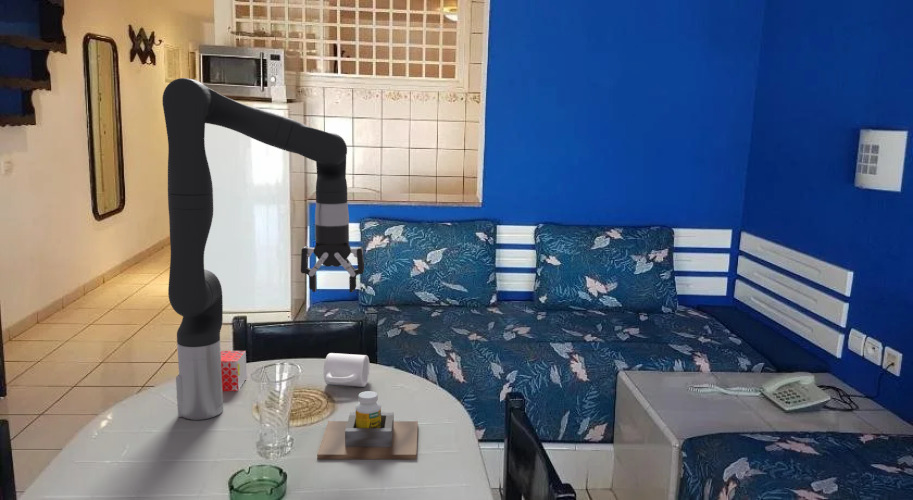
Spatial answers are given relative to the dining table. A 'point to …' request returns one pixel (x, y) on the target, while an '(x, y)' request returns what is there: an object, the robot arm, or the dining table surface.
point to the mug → (346, 369)
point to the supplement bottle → (368, 410)
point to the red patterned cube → (233, 369)
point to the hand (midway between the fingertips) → (333, 291)
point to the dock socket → (369, 440)
